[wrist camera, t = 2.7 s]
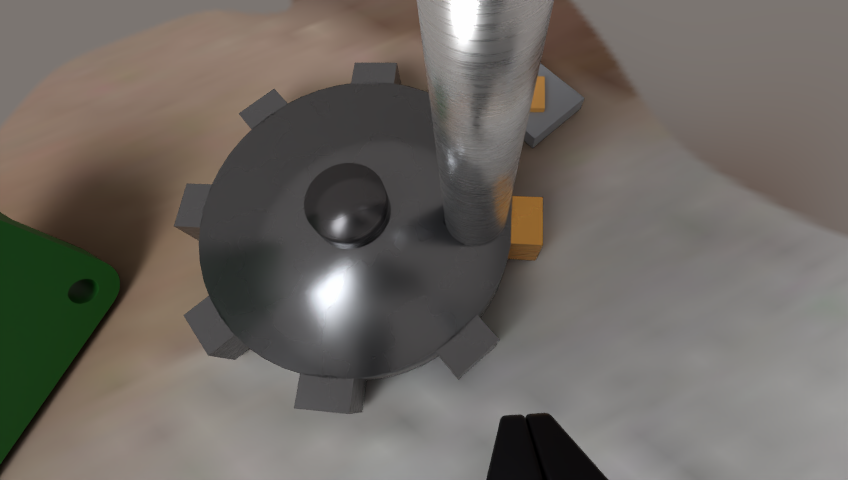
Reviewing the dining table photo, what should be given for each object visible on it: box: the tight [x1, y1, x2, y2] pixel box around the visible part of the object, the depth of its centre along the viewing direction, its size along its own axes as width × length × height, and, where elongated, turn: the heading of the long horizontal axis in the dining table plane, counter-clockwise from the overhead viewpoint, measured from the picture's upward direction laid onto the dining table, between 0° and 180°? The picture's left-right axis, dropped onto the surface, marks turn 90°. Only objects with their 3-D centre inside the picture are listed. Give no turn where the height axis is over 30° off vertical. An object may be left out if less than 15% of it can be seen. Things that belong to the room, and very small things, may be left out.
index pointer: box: [524, 63, 584, 148], centre depth 21 cm, size 4×3×1 cm
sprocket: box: [174, 0, 554, 414], centre depth 13 cm, size 15×15×14 cm
